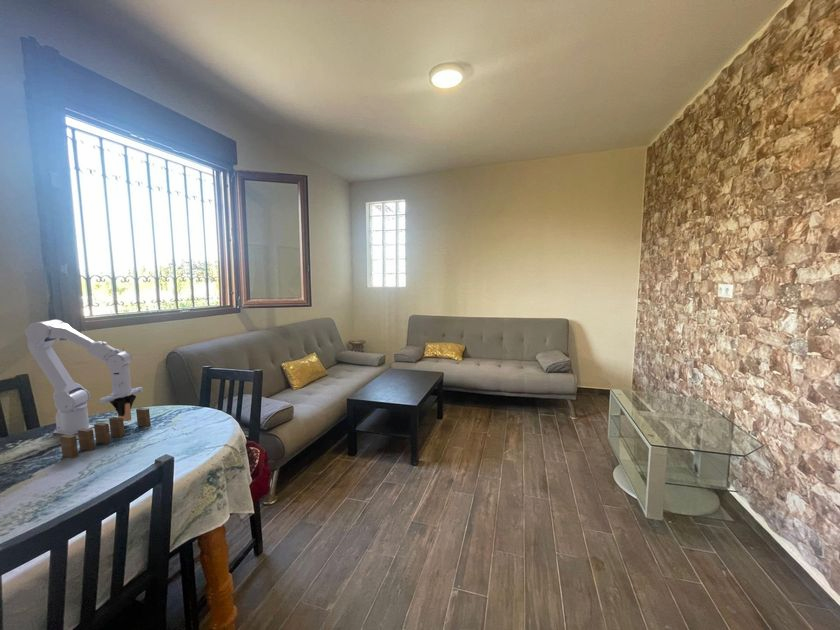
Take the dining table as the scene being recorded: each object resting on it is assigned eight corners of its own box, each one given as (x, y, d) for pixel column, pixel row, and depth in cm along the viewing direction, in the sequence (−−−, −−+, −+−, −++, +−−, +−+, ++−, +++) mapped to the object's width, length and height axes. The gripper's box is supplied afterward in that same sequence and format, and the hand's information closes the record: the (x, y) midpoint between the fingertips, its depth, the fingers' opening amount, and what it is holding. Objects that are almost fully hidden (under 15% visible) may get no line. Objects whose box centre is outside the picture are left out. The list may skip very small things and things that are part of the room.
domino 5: (146, 426, 134) (144, 410, 133) (137, 425, 135) (136, 409, 135) (150, 425, 136) (149, 408, 135) (141, 424, 137) (140, 407, 136)
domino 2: (89, 450, 116) (87, 431, 115) (80, 449, 117) (77, 430, 116) (95, 448, 117) (92, 429, 116) (85, 447, 118) (83, 428, 118)
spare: (127, 421, 135) (125, 404, 134) (118, 420, 136) (116, 403, 135) (131, 419, 136) (129, 403, 136) (122, 418, 137) (121, 402, 137)
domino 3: (105, 444, 120) (103, 425, 120) (96, 442, 121) (93, 424, 121) (110, 442, 122) (108, 423, 121) (101, 440, 123) (99, 422, 122)
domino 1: (72, 458, 111) (70, 438, 110) (62, 456, 112) (59, 436, 111) (78, 455, 113) (75, 435, 112) (68, 453, 114) (66, 434, 113)
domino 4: (120, 437, 125) (118, 420, 124) (111, 436, 126) (109, 418, 125) (124, 436, 127) (123, 418, 126) (115, 434, 128) (113, 417, 127)
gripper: (108, 388, 126) (111, 423, 128) (147, 377, 140) (150, 408, 142) (94, 387, 128) (97, 421, 129) (134, 376, 142) (137, 407, 144)
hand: (124, 414), depth 136 cm, fingers closed on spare, 1 cm apart
